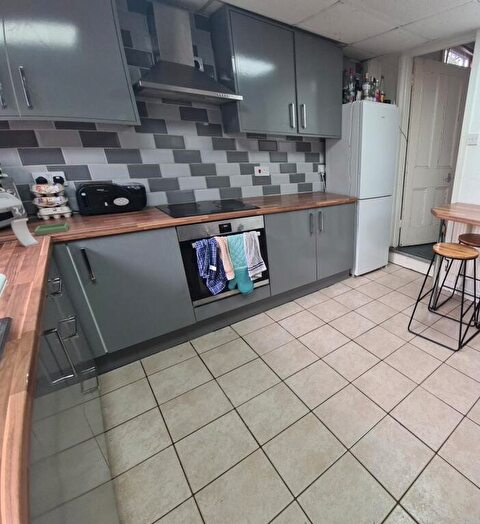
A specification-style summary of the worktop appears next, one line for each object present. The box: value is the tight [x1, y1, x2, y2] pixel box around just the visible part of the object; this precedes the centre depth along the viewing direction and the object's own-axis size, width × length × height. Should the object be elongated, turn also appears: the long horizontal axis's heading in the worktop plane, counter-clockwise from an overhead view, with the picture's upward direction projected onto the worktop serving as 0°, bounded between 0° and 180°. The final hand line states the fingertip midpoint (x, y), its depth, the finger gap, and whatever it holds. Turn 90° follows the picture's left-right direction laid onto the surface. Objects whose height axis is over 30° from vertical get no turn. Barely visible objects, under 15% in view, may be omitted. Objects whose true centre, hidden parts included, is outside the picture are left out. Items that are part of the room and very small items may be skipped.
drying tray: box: [33, 221, 70, 236], centre depth 152 cm, size 12×12×2 cm
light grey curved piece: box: [10, 217, 40, 247], centre depth 131 cm, size 5×6×12 cm
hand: (7, 219), depth 130 cm, fingers open, 8 cm apart
